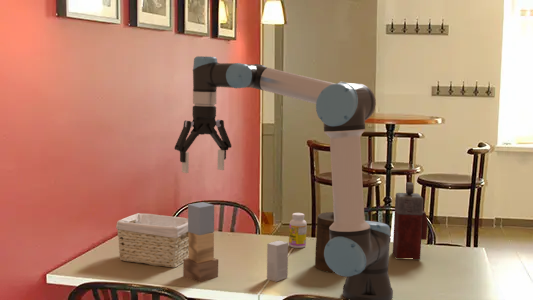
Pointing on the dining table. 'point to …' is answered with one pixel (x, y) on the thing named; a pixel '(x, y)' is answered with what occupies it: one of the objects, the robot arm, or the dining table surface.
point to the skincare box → (277, 260)
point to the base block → (200, 269)
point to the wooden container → (323, 239)
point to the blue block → (200, 218)
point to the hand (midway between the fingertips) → (203, 171)
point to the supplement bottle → (297, 231)
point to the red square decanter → (409, 224)
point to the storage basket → (153, 239)
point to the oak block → (201, 247)
